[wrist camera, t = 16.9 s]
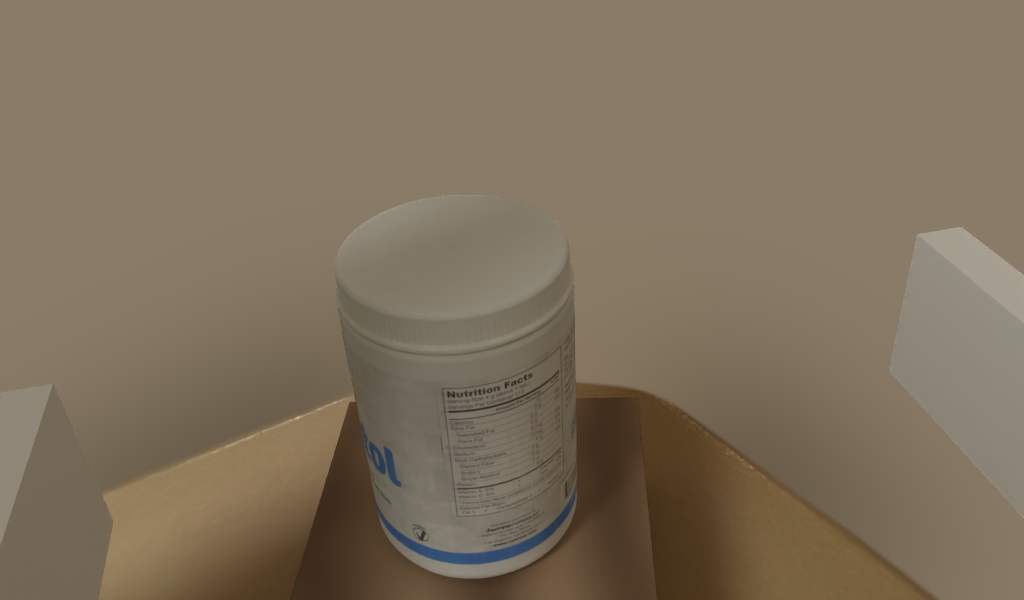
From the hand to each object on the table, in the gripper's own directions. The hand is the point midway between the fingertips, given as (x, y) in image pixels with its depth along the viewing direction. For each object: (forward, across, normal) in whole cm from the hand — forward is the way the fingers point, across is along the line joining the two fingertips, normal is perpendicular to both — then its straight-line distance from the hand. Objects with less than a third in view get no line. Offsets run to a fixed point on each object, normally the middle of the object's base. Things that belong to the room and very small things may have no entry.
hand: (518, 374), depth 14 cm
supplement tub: (+20, +1, -24) cm, 32 cm away
